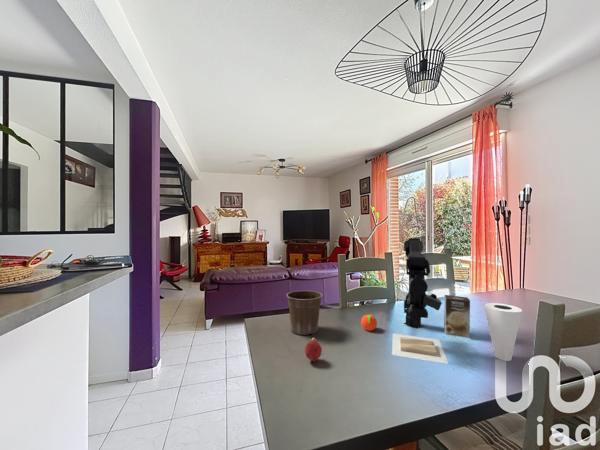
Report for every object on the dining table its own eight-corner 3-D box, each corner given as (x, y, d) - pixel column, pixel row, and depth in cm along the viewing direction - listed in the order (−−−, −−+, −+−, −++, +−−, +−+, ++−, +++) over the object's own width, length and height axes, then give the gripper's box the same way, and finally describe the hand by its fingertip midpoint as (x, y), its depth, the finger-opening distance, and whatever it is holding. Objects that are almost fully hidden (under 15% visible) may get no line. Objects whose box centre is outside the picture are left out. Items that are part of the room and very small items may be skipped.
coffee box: (445, 335, 113) (445, 298, 113) (443, 330, 118) (443, 294, 119) (470, 339, 109) (470, 300, 109) (467, 333, 115) (467, 296, 115)
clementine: (377, 335, 113) (377, 318, 113) (361, 333, 114) (361, 317, 114) (376, 328, 121) (376, 312, 121) (360, 326, 122) (360, 311, 122)
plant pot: (291, 322, 128) (291, 289, 128) (324, 324, 125) (324, 290, 125) (282, 335, 112) (282, 298, 112) (319, 339, 109) (319, 300, 109)
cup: (477, 350, 99) (477, 302, 99) (506, 350, 99) (506, 302, 99) (498, 365, 89) (498, 312, 89) (530, 365, 88) (530, 312, 88)
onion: (316, 367, 87) (316, 343, 87) (301, 362, 90) (301, 339, 90) (324, 359, 92) (324, 337, 92) (310, 355, 95) (310, 333, 95)
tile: (400, 336, 106) (400, 346, 98) (433, 341, 102) (436, 351, 94) (400, 340, 106) (400, 350, 98) (433, 345, 102) (436, 356, 94)
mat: (392, 334, 114) (392, 333, 114) (439, 340, 107) (439, 339, 107) (391, 356, 95) (391, 354, 95) (448, 365, 88) (448, 363, 88)
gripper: (443, 296, 91) (444, 341, 91) (436, 284, 108) (436, 322, 108) (409, 293, 95) (409, 336, 95) (407, 282, 112) (407, 319, 112)
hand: (416, 328), depth 102 cm, fingers closed
